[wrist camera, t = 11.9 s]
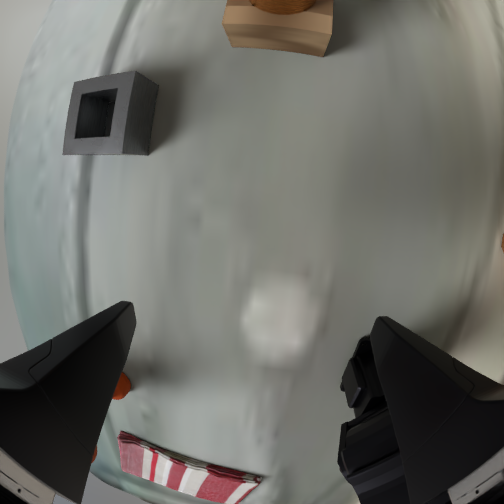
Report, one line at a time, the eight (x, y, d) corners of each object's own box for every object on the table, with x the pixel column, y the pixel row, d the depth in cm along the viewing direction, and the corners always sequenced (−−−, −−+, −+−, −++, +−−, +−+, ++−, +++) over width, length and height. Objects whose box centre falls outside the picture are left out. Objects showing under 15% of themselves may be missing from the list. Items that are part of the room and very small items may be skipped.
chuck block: (158, 85, 18) (135, 70, 14) (148, 155, 20) (121, 153, 16) (101, 91, 18) (74, 82, 14) (91, 154, 20) (62, 155, 16)
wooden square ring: (327, -4, 14) (333, -29, 10) (323, 57, 16) (331, 34, 12) (244, -12, 14) (238, -38, 11) (231, 46, 16) (221, 23, 13)
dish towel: (120, 426, 32) (113, 437, 29) (265, 472, 31) (263, 486, 29) (124, 463, 37) (120, 472, 34) (236, 499, 36) (235, 509, 34)
